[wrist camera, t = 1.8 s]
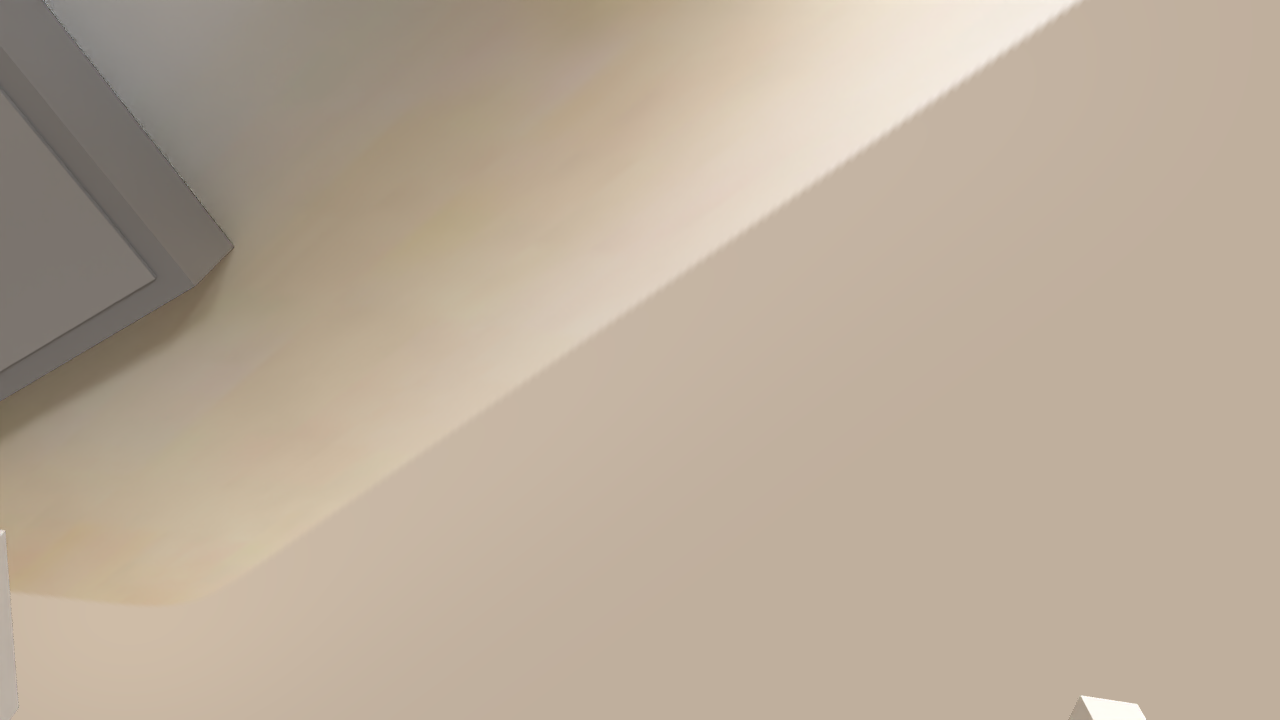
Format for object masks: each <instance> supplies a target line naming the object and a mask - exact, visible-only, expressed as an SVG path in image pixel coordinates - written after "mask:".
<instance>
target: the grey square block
mask: <svg viewBox="0 0 1280 720" xmlns="http://www.w3.org/2000/svg"><path fill="white" fill-rule="evenodd" d="M233 248H234V246H233V244H232V243H231V242H230V241H229V239H228V238H227V237H226V235H225V234H224V233H223V232H222V230H221V229H220V228H219V226H218V225H217V224H216V223H215V221H214V220H213V219H212V218H211V216H210V215H209V214H208V212H207V211H206V210H205V209H204V207H203V206H202V205H201V203H200V202H199V201H198V200H197V198H196V197H195V196H194V194H193V193H192V192H191V191H190V189H189V188H188V187H187V185H186V184H185V183H184V182H183V180H182V179H181V178H180V176H179V175H178V174H177V173H176V171H175V170H174V169H173V167H172V166H171V165H170V164H169V162H168V161H167V160H166V158H165V157H164V156H163V155H162V153H161V152H160V151H159V149H158V148H157V147H156V146H155V144H154V143H153V142H152V140H151V139H150V138H149V137H148V135H147V134H146V133H145V132H144V130H143V129H142V128H141V126H140V125H139V124H138V123H137V121H136V120H135V119H134V117H133V116H132V115H131V114H130V112H129V111H128V110H127V108H126V107H125V106H124V105H123V103H122V102H121V101H120V99H119V98H118V97H117V96H116V94H115V93H114V92H113V90H112V89H111V88H110V87H109V85H108V84H107V83H106V81H105V80H104V79H103V78H102V76H101V75H100V74H99V72H98V71H97V70H96V69H95V67H94V66H93V65H92V63H91V62H90V61H89V60H88V58H87V57H86V56H85V55H84V53H83V52H82V51H81V49H80V48H79V47H78V46H77V44H76V43H75V42H74V40H73V39H72V38H71V37H70V35H69V34H68V33H67V31H66V30H65V29H64V28H63V26H62V25H61V24H60V22H59V21H58V20H57V19H56V17H55V16H54V15H53V13H52V12H51V11H50V10H49V8H48V7H47V6H46V4H45V3H44V2H43V1H42V0H0V401H2V400H3V399H5V398H7V397H8V396H10V395H12V394H13V393H15V392H17V391H19V390H20V389H22V388H24V387H25V386H27V385H29V384H30V383H32V382H34V381H35V380H37V379H39V378H41V377H42V376H44V375H46V374H47V373H49V372H51V371H52V370H54V369H56V368H57V367H59V366H61V365H63V364H64V363H66V362H68V361H69V360H71V359H73V358H74V357H76V356H78V355H80V354H81V353H83V352H85V351H86V350H88V349H90V348H91V347H93V346H95V345H96V344H98V343H100V342H102V341H103V340H105V339H107V338H108V337H110V336H112V335H113V334H115V333H117V332H118V331H120V330H122V329H124V328H125V327H127V326H129V325H130V324H132V323H134V322H135V321H137V320H139V319H140V318H142V317H144V316H146V315H147V314H149V313H151V312H152V311H154V310H156V309H157V308H159V307H161V306H162V305H164V304H166V303H168V302H169V301H171V300H173V299H174V298H176V297H178V296H179V295H181V294H183V293H184V292H186V291H188V290H190V289H191V288H193V287H195V286H196V285H197V284H198V283H199V282H200V281H201V280H202V279H203V278H204V277H205V276H206V275H207V274H208V273H209V272H210V271H211V270H212V269H213V268H214V267H215V266H216V265H217V264H218V263H219V262H220V261H221V260H222V259H223V258H224V257H225V256H226V255H227V254H228V253H229V252H230V251H231V250H232V249H233Z"/></svg>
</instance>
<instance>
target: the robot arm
mask: <svg viewBox="0 0 1280 720" xmlns="http://www.w3.org/2000/svg"><path fill="white" fill-rule="evenodd" d="M18 708H19V705H18V692H17V680H16V665H15V653H14V639H13V625H12V612H11V599H10V585H9V572H8V558H7V545H6V531H5V530H0V720H10V719H11V718H12V717H13V715H14V714H15V712H16V711H17V709H18ZM1068 720H1146V718H1145V717H1144V715H1143V713H1142V712H1141V710H1140V708H1139V706H1138V705H1137V704H1133V703H1126V702H1119V701H1113V700H1107V699H1100V698H1093V697H1087V696H1080V697H1079V700H1078V702H1077V703H1076V705H1075V707H1074V709H1073V711H1072V713H1071V715H1070V717H1069V719H1068Z"/></svg>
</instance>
